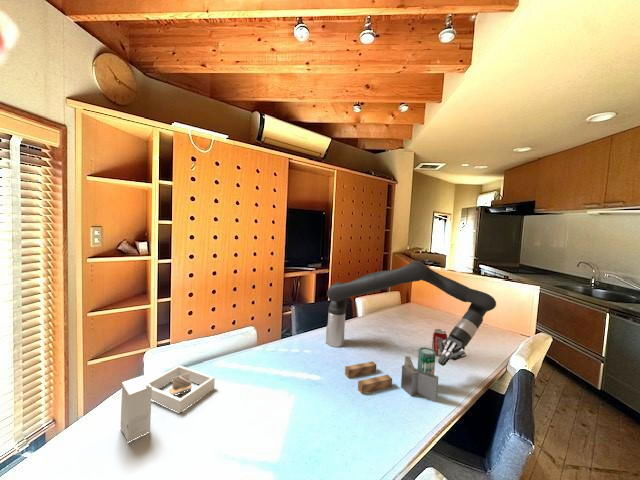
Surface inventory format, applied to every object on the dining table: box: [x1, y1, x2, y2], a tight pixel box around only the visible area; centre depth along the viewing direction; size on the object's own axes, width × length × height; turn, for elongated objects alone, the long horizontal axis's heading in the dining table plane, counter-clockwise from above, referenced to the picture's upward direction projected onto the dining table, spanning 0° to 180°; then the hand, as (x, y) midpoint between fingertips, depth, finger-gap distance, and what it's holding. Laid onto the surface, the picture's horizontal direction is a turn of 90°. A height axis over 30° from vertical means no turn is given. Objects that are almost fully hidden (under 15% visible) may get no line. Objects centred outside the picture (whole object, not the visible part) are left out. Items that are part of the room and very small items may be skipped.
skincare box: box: [119, 375, 152, 443], centre depth 78 cm, size 8×6×15 cm
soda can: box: [431, 328, 448, 357], centre depth 135 cm, size 7×7×12 cm
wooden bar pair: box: [344, 360, 393, 395], centre depth 109 cm, size 14×14×4 cm
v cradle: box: [400, 355, 439, 403], centre depth 104 cm, size 8×18×9 cm, turn 22°
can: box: [417, 346, 437, 375], centre depth 106 cm, size 6×6×15 cm
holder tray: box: [148, 364, 216, 413], centre depth 97 cm, size 19×15×4 cm
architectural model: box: [168, 373, 192, 395], centre depth 95 cm, size 3×7×7 cm, turn 132°
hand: (440, 364), depth 109 cm, fingers closed
